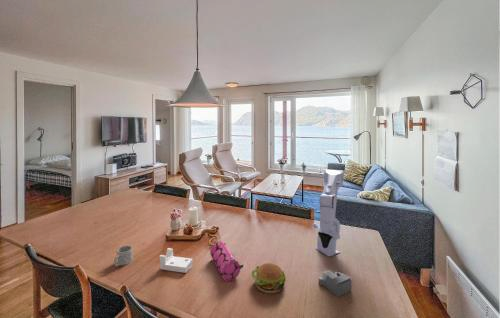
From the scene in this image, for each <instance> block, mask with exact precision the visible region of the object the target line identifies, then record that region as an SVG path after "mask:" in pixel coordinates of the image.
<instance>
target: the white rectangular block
mask: <svg viewBox="0 0 500 318" xmlns="http://www.w3.org/2000/svg"><path fill="white" fill-rule="evenodd" d="M326 276H329V277H330V278H332V279H333V278H336V277H338V276H337V275H336V274H334V271H331V270H330V269H327V270H325V271H323V272H322V278H324V279H326Z"/></svg>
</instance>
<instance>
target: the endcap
mask: <svg viewBox="0 0 500 318" xmlns="http://www.w3.org/2000/svg"><path fill="white" fill-rule="evenodd" d="M333 273H334V274H336V275H337V276H338V277H336V278H333V279H332V278H330V277H329V276H326V279H324V278H323V277H321V276H320V277H318V284H319V285H321V286H323V287H325V288H326V289H327V290H329V291H330V292H331V293H333V294H334V295H335V296H336V297H337V298H338V297H341V296H343V295H345V294H347V293H350V292H351V291H352V282H353V281H352V278H351V277H350V276H348V275H347V274H345V273H342V272H340V271H335V270H334V271H333Z"/></svg>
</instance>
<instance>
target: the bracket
mask: <svg viewBox="0 0 500 318" xmlns="http://www.w3.org/2000/svg"><path fill="white" fill-rule="evenodd" d="M159 266H160V267H159V269H160V270H164V271H170V272H177V273H185V274H186V273H187V272H188V271H189V270H191V269H192V267H193V266H194V259H193V258H189V257H183V256H174V249H173V248H171V247H167V249H166V253H165V254H160V255H159Z"/></svg>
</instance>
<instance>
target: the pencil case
mask: <svg viewBox="0 0 500 318" xmlns="http://www.w3.org/2000/svg"><path fill="white" fill-rule="evenodd" d="M210 257H211V258H212V261H213V263H214V264H215V266H216V268H217V271H218V272H219V274H220V276H221V278H223V280H224V281H226V282H231V281H233V280H234V279H237V277H238V276H239V274H240V272H241V269H243V268H244V264H241V265H240V262H238V260H237V258H236V257H235V255H234V254H233V253H232V252H231V251H230V250H229V249H228V248H227V245H226V243H225V242H224V241H221V240H220V241H218V242H216V243H214V244H213V245H212V246H211V247H210Z"/></svg>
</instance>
